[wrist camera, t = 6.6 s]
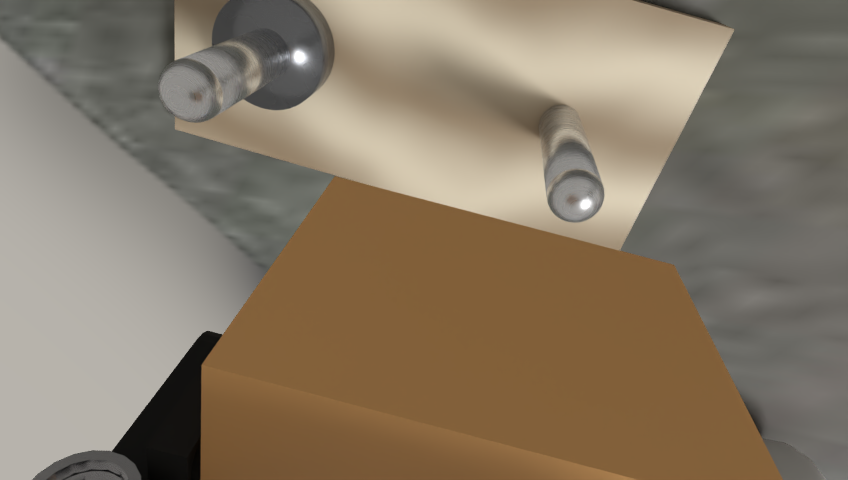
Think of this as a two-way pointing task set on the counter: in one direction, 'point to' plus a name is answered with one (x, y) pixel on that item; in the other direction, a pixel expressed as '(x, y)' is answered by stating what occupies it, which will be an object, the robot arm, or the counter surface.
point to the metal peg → (252, 60)
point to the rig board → (484, 99)
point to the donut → (792, 462)
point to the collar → (467, 358)
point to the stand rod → (569, 166)
